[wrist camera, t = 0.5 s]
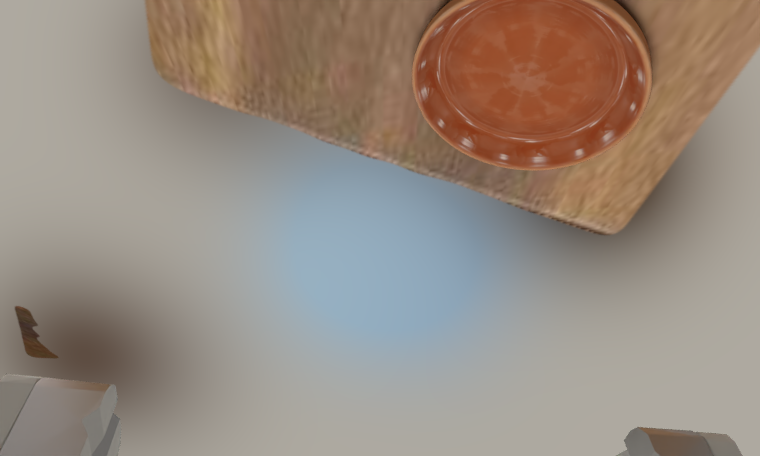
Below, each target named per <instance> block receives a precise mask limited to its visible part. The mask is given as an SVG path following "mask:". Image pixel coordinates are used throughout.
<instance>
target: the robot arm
mask: <svg viewBox="0 0 760 456" xmlns="http://www.w3.org/2000/svg"><path fill="white" fill-rule="evenodd" d="M117 400H118V398H117V393H116V386H115V385H109V384H100V383H91V382H81V381H72V380H63V379H54V378H45V377H35V376H23V375H13V374H5V375H4V376H3V377H2V378H1V379H0V456H118V451H119V447H120V439H121V424H120V418H118V417H117V416H116V415H115V414H114V413H113V410H114V408H115V406H116V403H117ZM624 442H625V444H626V447H627V450H626V451H624V452H622V453H620V454H619V455H617V456H742V454H741V452H740V451H739V449H738V447H737V445H736V443H735V442H734V441H733V440H732V439H731V438H730V437H729V436H728V435H726V434H716V433H703V432H693V431H686V430H672V429H656V428H643V427H637V428H635V429H633V430H631V431H630V432H629V434H628V435H627V437H626V439H625V440H624Z"/></svg>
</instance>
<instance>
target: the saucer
mask: <svg viewBox="0 0 760 456" xmlns="http://www.w3.org/2000/svg"><path fill="white" fill-rule="evenodd" d="M412 86H413V91H414V95H415V99H416V102H417V104H418V106H419V109H420V111H421V113H422V115H423V116H424V118H425V119H426V121H427V122H428V124H429V125H430V126H431V127H432V128H433V130H434V131H435V132H436V133H437V134H438V135H439V136H440V137H441V138H443V139H444V140H445V141H446V142H447V143H449V144H450V145H451V146H453V147H454V148H456V149H457V150H459V151H461V152H462V153H464V154H466V155H468V156H470V157H472V158H475V159H477V160H479V161H482V162H485V163H488V164H491V165H495V166H499V167H504V168H509V169H517V170H551V169H558V168H563V167H568V166H572V165H576V164H579V163H582V162H585V161H588V160H590V159H592V158H594V157H597V156H599V155H601V154H602V153H604V152H606V151H608V150H609V149H611V148H612V147H614V146H615V145H616V144H618V143H619V142H620V141H621V140H623V139H624V138H625V137H626V136H627V135H628V134H629V133H630V132H631V131H632V129H633V128H634V127H635V126H636V124H637V123H638V121H639V120H640V118H641V117H642V115H643V113H644V111H645V109H646V107H647V104H648V101H649V98H650V94H651V88H652V66H651V57H650V52H649V48H648V45H647V42H646V39H645V37H644V35H643V33H642V31H641V29H640V28H639V26H638V25H637V23H636V22H635V20H634V19H633V18H632V17H631V16H630V14H629V13H628V12H627V11H626V10H625V9H624V8H623V7H622V6H620V5H619V4H618V3H617V2H616V1H614V0H451V1H450V2H449V3H448V4H446V5H445V6H444V7H443V8H442V9H441V10H440V11H439V12H438V13H437V14H436V15H435V16H434V18H433V19H432V20H431V21H430V23H429V24H428V26H427V28H426V29H425V31H424V33H423V35H422V37H421V40H420V42H419V45H418V47H417V50H416V53H415V56H414V61H413V67H412Z"/></svg>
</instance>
